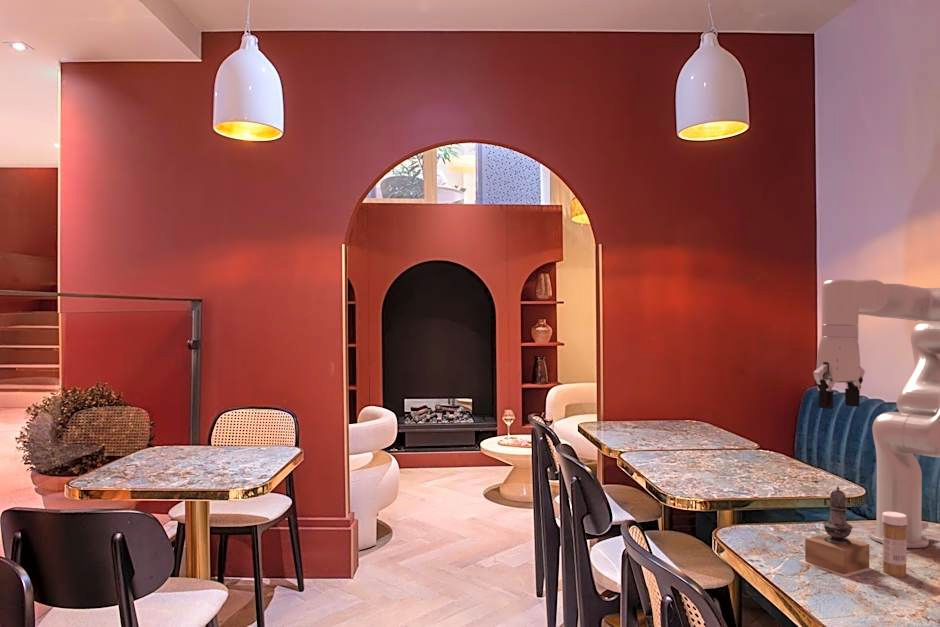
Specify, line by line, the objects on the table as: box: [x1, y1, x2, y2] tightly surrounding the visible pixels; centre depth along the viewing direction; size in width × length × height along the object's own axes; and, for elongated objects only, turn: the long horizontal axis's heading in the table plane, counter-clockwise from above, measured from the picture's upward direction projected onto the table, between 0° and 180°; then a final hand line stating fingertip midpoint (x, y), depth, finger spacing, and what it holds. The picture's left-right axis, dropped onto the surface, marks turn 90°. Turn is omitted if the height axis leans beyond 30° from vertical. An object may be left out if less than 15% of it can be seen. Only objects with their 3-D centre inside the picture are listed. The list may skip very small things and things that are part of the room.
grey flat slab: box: [798, 558, 877, 578], centre depth 155 cm, size 16×12×1 cm
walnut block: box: [804, 533, 870, 574], centre depth 155 cm, size 9×9×5 cm
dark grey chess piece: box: [822, 486, 854, 545], centre depth 155 cm, size 6×6×12 cm
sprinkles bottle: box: [882, 512, 908, 578], centre depth 150 cm, size 5×5×14 cm
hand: (839, 407), depth 164 cm, fingers open, 9 cm apart
